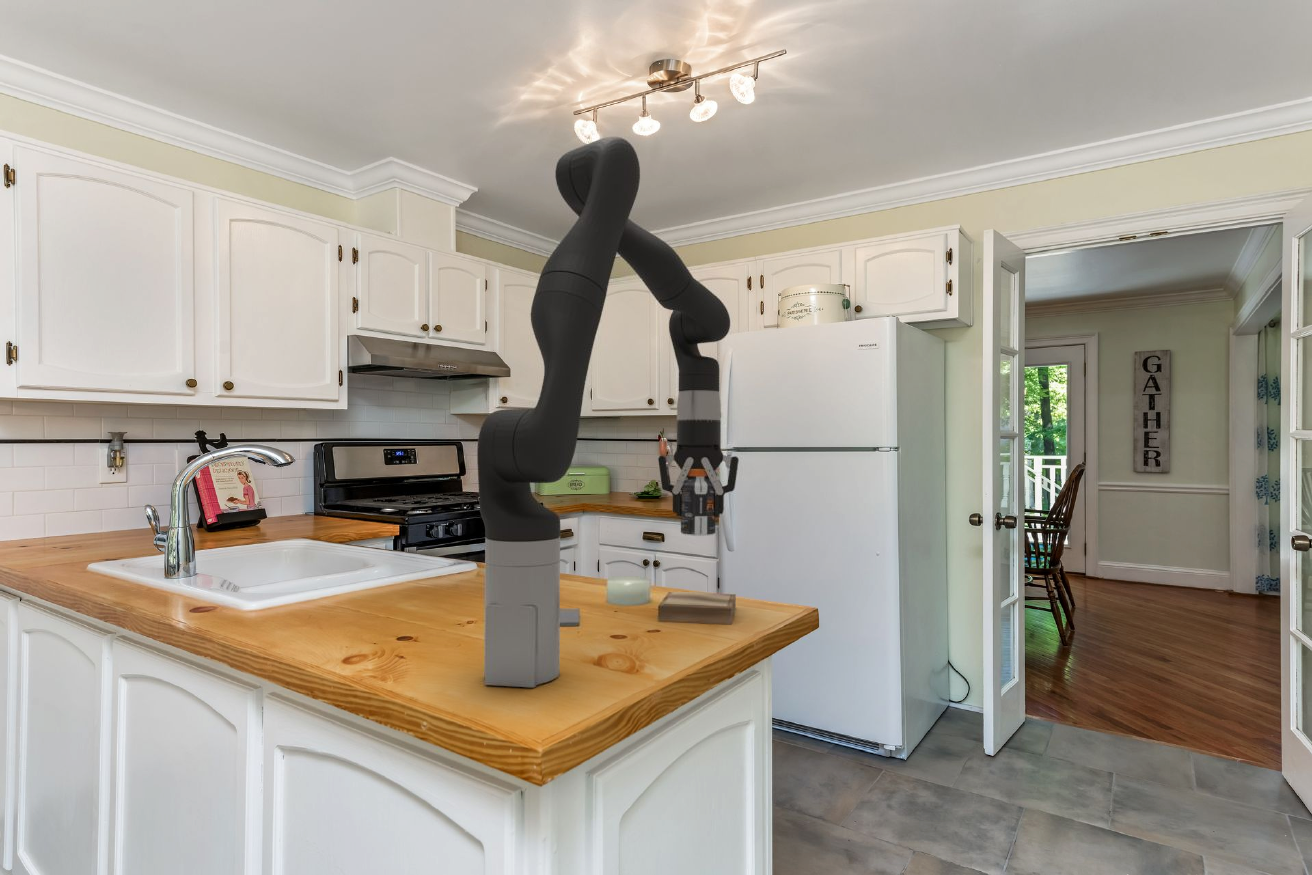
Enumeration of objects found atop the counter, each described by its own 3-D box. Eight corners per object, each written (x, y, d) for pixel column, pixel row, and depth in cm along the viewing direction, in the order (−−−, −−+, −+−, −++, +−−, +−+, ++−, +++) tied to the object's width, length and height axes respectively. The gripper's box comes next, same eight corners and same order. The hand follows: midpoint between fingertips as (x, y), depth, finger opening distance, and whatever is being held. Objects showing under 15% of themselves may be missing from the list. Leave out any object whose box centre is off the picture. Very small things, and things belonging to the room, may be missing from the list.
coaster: (579, 625, 119) (579, 622, 119) (515, 627, 118) (515, 623, 118) (579, 612, 129) (579, 608, 129) (520, 613, 128) (520, 609, 128)
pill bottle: (713, 536, 124) (713, 468, 124) (678, 535, 125) (678, 468, 125) (717, 532, 130) (717, 467, 130) (683, 531, 131) (684, 467, 131)
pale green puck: (645, 607, 134) (645, 584, 134) (602, 605, 135) (602, 583, 135) (653, 598, 142) (653, 577, 142) (612, 596, 143) (612, 575, 143)
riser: (731, 624, 120) (731, 607, 120) (658, 621, 122) (658, 604, 122) (735, 608, 132) (735, 593, 132) (668, 605, 134) (668, 590, 134)
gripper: (653, 417, 125) (653, 517, 125) (739, 417, 123) (739, 519, 123) (660, 419, 132) (660, 513, 132) (742, 419, 130) (741, 515, 130)
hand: (698, 516), depth 127 cm, fingers closed on pill bottle, 6 cm apart
